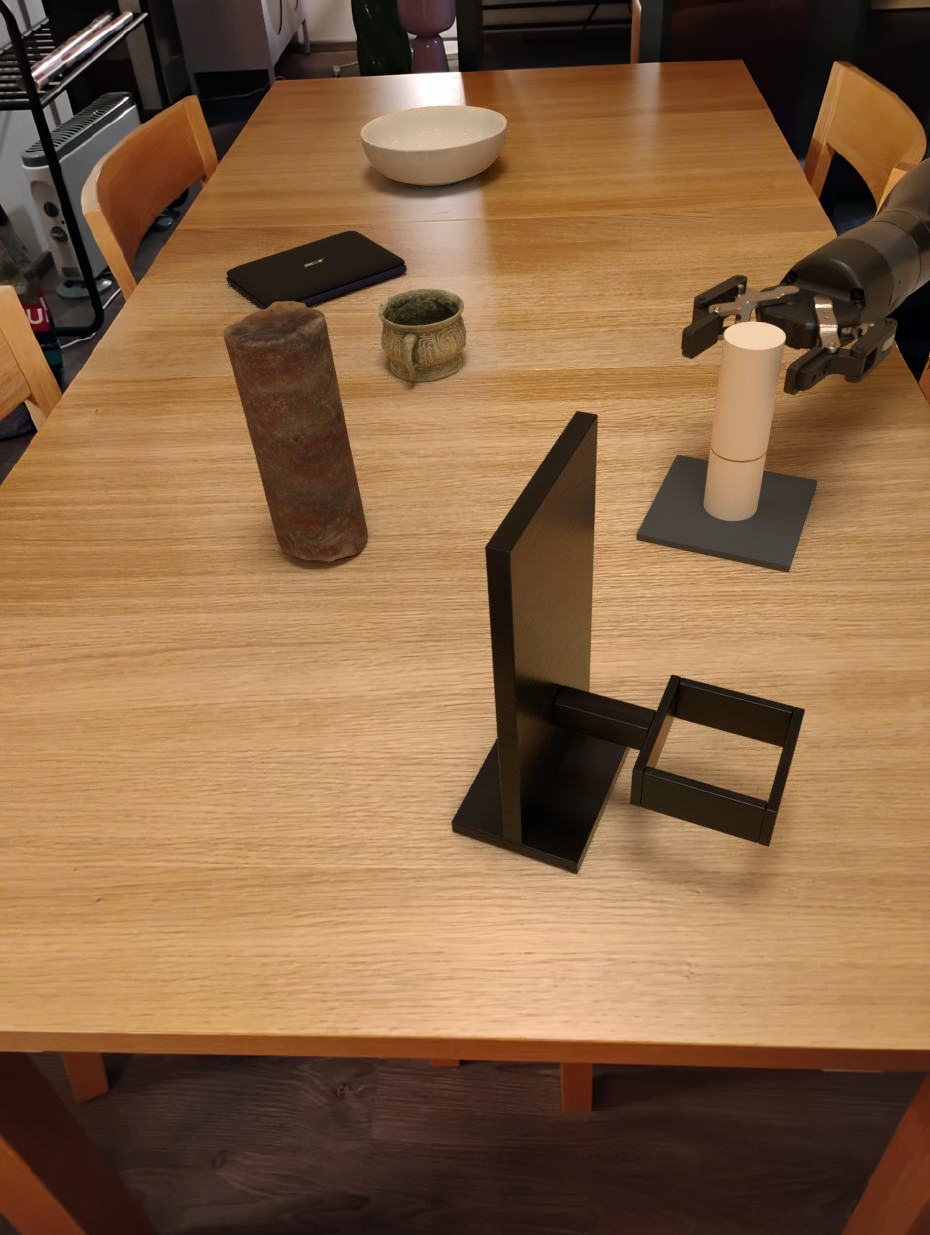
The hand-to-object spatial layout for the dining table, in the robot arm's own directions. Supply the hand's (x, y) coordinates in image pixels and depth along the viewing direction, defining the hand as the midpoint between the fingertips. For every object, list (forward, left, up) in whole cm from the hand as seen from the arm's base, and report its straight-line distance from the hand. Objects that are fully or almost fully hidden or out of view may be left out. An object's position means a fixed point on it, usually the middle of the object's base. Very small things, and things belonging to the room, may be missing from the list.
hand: (736, 363), depth 71 cm
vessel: (+34, -17, -15) cm, 41 cm away
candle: (+29, +13, -15) cm, 35 cm away
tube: (-1, -2, -14) cm, 14 cm away
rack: (-2, +29, -14) cm, 32 cm away
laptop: (+56, -32, -15) cm, 66 cm away
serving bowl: (+57, -68, -15) cm, 90 cm away
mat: (-1, -2, -14) cm, 14 cm away
